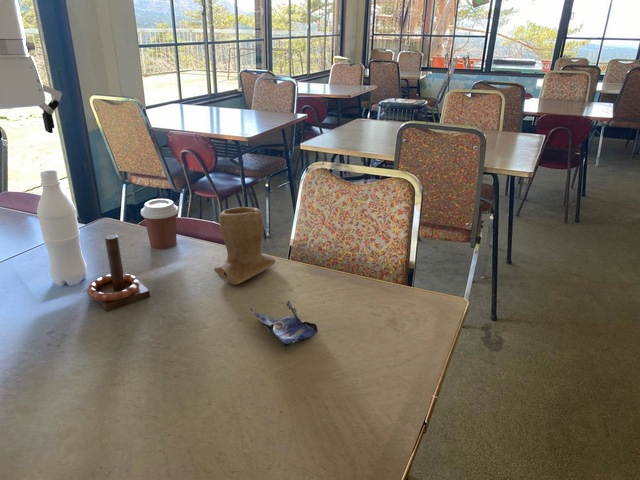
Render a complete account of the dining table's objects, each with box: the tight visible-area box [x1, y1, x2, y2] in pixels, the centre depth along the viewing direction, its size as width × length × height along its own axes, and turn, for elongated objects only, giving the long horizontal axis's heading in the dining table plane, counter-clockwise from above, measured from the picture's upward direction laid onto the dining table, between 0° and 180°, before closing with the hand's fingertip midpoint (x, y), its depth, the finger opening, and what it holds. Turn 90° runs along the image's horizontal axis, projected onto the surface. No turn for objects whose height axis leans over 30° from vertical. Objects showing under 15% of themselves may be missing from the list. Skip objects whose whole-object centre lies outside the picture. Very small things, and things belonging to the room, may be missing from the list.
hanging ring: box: [86, 272, 141, 302], centre depth 100 cm, size 10×10×2 cm
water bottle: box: [36, 170, 88, 287], centre depth 101 cm, size 7×7×25 cm
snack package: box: [250, 300, 319, 351], centre depth 90 cm, size 12×6×12 cm
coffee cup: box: [140, 198, 180, 251], centre depth 122 cm, size 9×9×12 cm
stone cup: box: [213, 206, 276, 285], centre depth 110 cm, size 15×12×15 cm
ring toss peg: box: [96, 234, 151, 312], centre depth 99 cm, size 9×9×14 cm
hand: (24, 134), depth 103 cm, fingers open, 9 cm apart
